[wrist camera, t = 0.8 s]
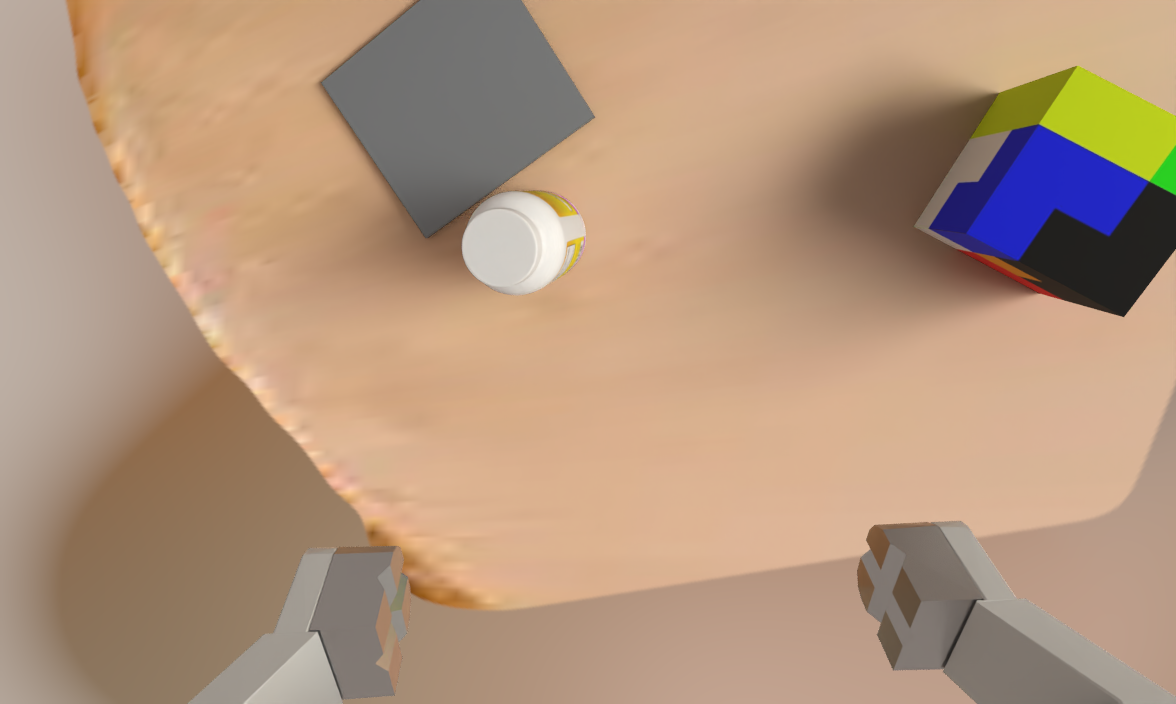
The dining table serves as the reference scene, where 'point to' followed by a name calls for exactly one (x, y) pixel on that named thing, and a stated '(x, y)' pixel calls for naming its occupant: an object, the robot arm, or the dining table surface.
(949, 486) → the dining table surface
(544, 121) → the mat
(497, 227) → the supplement bottle
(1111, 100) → the puzzle toy
